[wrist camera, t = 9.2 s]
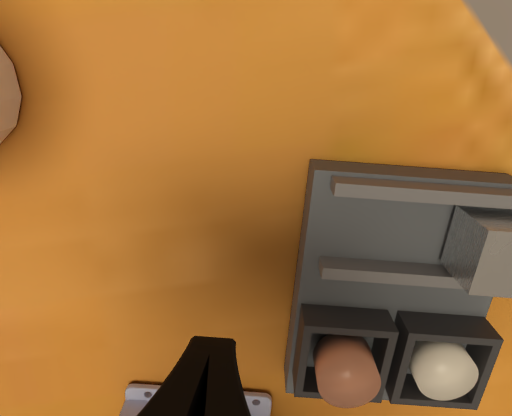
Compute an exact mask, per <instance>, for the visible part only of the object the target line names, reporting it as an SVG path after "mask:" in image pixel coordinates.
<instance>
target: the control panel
mask: <svg viewBox="0 0 512 416" xmlns="http://www.w3.org/2000/svg"><path fill="white" fill-rule="evenodd" d="M456 205H460V206H473V207H487V208H500V209H512V176H510V175H508V174H506V173H492V172H478V171H465V170H451V169H438V168H424V167H411V166H397V165H384V164H370V163H356V162H343V161H329V160H316V159H310V163H309V171H308V180H307V188H306V196H305V204H304V212H303V220H302V228H301V236H300V244H299V252H298V260H297V268H296V276H295V284H294V292H293V300H292V309H291V317H290V325H289V333H288V341H287V349H286V357H285V365H284V372H285V389H286V393H294V397H306V398H320V399H323V398H322V397H321V395H320V393H319V391H318V386H317V380H316V373H315V367H314V361H313V351H314V348H315V346H316V344H317V343H318V342H319V341H320V340H321V339H322V338H323V337H325V336H327V335H329V334H334V335H347V336H361V337H363V338H364V339H365V340H366V342H367V343H368V345H369V347H370V350H371V353H372V356H373V358H374V361H375V364H376V367H377V369H378V372H379V375H380V378H381V387H380V390H379V392H378V394H377V395H376V396H375V397H374V398H373V399H372V400H371V401H370V402H375V403H381V401H382V400H389V401H390V404H403V405H417V406H431V407H445V408H459V409H473V410H477V409H478V406H479V404H480V401H481V398H482V396H483V393H484V390H485V388H486V385H487V383H488V380H489V377H490V375H491V372H492V369H493V367H494V364H495V362H496V359H497V356H498V354H499V351H500V348H501V346H502V343H503V341H504V340H503V339H502V337H501V336H500V335H499V334H498V333H497V331H496V330H495V329H494V328H493V327H492V326H491V324H490V323H489V322H488V321H487V320H486V315H487V312H488V309H489V307H490V304H491V301H492V298H493V297H491V296H477V295H468V294H467V293H466V292H465V290H464V289H463V288H462V287H461V286H460V285H459V283H458V282H457V281H456V280H455V279H454V278H453V276H452V275H451V274H450V273H449V272H448V271H447V269H446V268H445V267H444V266H443V265H442V264H441V262H440V261H441V257H442V254H443V250H444V246H445V243H446V239H447V236H448V232H449V229H450V225H451V221H452V218H453V214H454V211H455V207H456ZM416 340H417V341H431V342H445V343H458V344H462V345H463V347H464V348H465V350H466V351H467V353H468V354H469V356H470V357H471V359H472V360H473V361H474V363H475V364H476V366H477V368H478V373H479V375H478V380H477V382H476V384H475V386H474V387H473V388H472V389H471V390H470V391H469V392H468V393H466V394H465V395H463V396H461V397H459V398H456V399H452V400H445V401H440V400H434V399H431V398H428V397H426V396H425V395H424V394H422V393H421V391H420V390H419V388H418V386H417V384H416V382H415V380H414V377H413V375H412V373H411V371H410V369H409V367H408V366H409V363H410V359H411V356H412V352H413V348H414V345H415V341H416Z"/></svg>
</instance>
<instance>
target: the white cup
mask: <svg viewBox="0 0 512 416" xmlns="http://www.w3.org/2000/svg"><path fill="white" fill-rule="evenodd" d="M21 98H22V96H21V92H20V88H19V84H18V80H17V76H16V73H15V69H14V65H13V63H12V61H11V60H10V59H9V57H8V56H7V54H6V53H5V52H4V50H3V49H2V48H1V46H0V144H1V143H2V141H3V140H4V139H5V138H6V137H7V136H8V135H9V133H10V132H11V131H12V130H13V129H14V128H15V127H16V125H17V120H18V115H19V109H20V104H21Z"/></svg>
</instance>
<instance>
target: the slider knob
mask: <svg viewBox="0 0 512 416" xmlns="http://www.w3.org/2000/svg"><path fill="white" fill-rule="evenodd" d="M440 262H441V264H442V265H443V266H444V267H445V268H446V269H447V271H448V272H449V273H450V274H451V275H452V276H453V278H454V279H455V280H456V281H457V282H458V283H459V285H460V286H461V287H462V288H463V289H464V290H465V292H466V293H467V294H468V295H477V296H491V297H504V298H512V209H500V208H487V207H473V206H460V205H456V207H455V211H454V214H453V218H452V221H451V225H450V229H449V232H448V236H447V239H446V243H445V246H444V250H443V254H442V257H441V261H440Z"/></svg>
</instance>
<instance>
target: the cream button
mask: <svg viewBox="0 0 512 416" xmlns="http://www.w3.org/2000/svg"><path fill="white" fill-rule="evenodd" d="M408 367H409V369H410V371H411V373H412V375H413V377H414V380H415V382H416V384H417V386H418V388H419V390H420V391H421V393H422V394H424V395H425V396H426V397H428V398H431V399H434V400H440V401H445V400H452V399H456V398H459V397H461V396H463V395H465V394H466V393H468V392H469V391H470V390H471V389H472V388H473V387H474V386H475V384H476V382H477V380H478V375H479V373H478V368H477V366H476V364H475V363H474V361H473V360H472V359H471V357H470V356H469V354H468V353H467V351H466V350H465V348H464V347H463V345H462V344H458V343H445V342H431V341H417V340H416V341H415V345H414V348H413V352H412V356H411V359H410V363H409V366H408Z"/></svg>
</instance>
